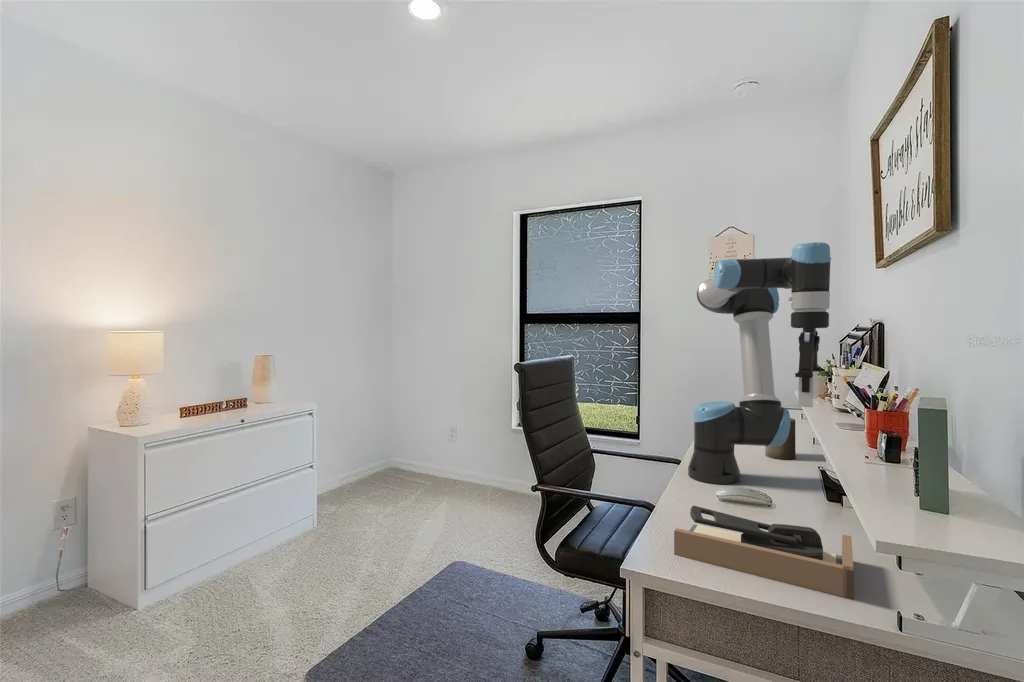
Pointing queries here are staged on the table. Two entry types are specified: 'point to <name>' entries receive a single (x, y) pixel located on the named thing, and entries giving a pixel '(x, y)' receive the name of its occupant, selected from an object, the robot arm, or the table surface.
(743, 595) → the table surface
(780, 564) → the tray
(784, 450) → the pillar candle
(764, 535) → the zipper pull
